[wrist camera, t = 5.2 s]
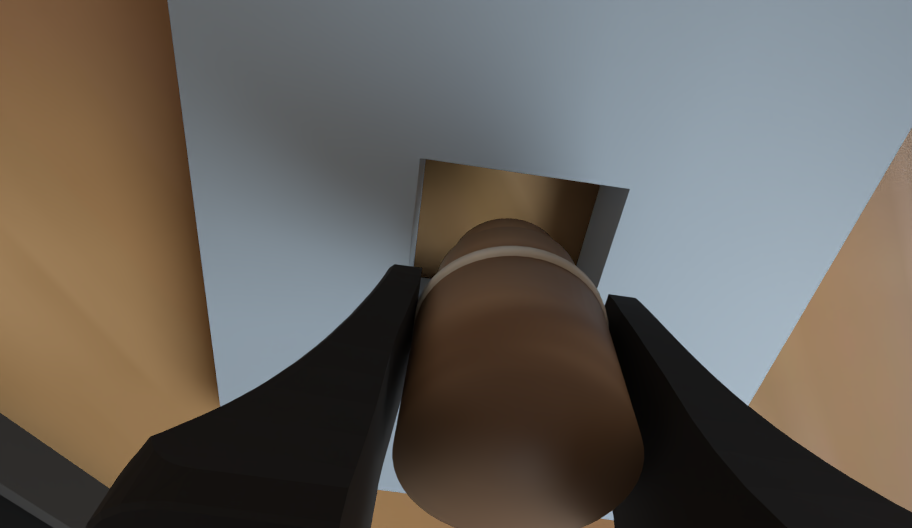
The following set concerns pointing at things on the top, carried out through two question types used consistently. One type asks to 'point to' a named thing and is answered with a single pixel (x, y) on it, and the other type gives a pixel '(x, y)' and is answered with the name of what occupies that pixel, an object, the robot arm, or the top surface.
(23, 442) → the computer keyboard
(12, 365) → the top surface
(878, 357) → the top surface
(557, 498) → the walnut peg
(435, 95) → the socket board
